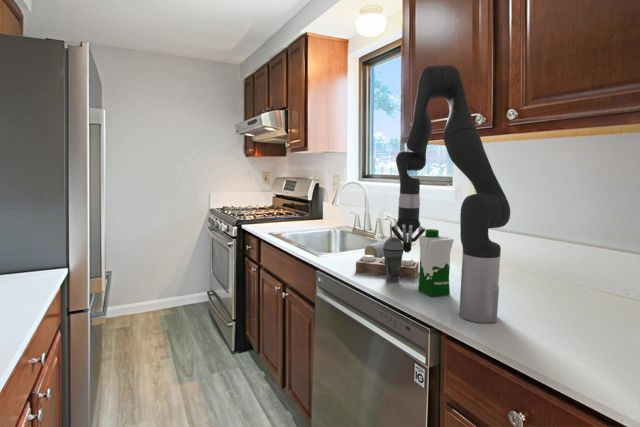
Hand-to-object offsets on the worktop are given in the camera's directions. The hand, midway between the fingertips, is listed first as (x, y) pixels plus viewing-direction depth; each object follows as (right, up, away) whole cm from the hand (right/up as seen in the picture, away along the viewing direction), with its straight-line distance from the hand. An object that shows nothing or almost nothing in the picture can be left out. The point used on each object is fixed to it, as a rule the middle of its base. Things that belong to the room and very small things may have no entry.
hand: (407, 252), depth 143 cm
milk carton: (+4, -11, -20) cm, 23 cm away
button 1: (-14, -5, +6) cm, 16 cm away
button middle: (-7, -6, +3) cm, 9 cm away
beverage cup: (-7, -10, -7) cm, 14 cm away
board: (-7, -8, +4) cm, 11 cm away
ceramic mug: (-7, -6, +22) cm, 24 cm away
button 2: (0, -6, +1) cm, 6 cm away
